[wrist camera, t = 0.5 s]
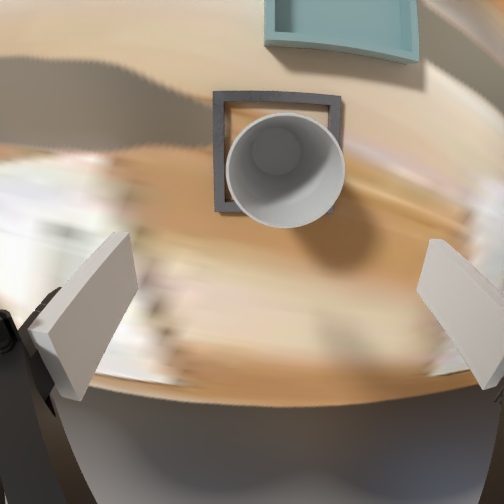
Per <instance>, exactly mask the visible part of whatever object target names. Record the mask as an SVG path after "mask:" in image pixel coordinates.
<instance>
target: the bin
mask: <svg viewBox="0 0 504 504" xmlns="http://www.w3.org/2000/svg"><path fill="white" fill-rule="evenodd" d="M264 46H279V47H296V48H309V49H319V50H328V51H336V52H343V53H350V54H357V55H363V56H368V57H374V58H379V59H384V60H389V61H393V62H398V63H402V64H411V63H416V62H419V29H418V14H417V1H416V0H264Z"/></svg>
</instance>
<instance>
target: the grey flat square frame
mask: <svg viewBox="0 0 504 504" xmlns="http://www.w3.org/2000/svg"><path fill="white" fill-rule="evenodd" d="M224 101H269V102H294V103H309V104H322V105H329V109H328V130H329V131H330V132H331V134H332V135H333V136H334V137H335V139H336V140H337V142H338V144H339V131H340V111H341V96H335V95H325V94H314V93H300V92H281V91H213V164H214V203H215V212H243V211H242V210H241V209H240V208H239V206H238V205H237V204H236V202H235V201H234V200H225V152H224ZM333 208H334V204H333V206H332V207H331V208H330V209H329V210H328V211H327V212H326V213H325V214H333Z"/></svg>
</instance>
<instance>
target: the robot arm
mask: <svg viewBox="0 0 504 504" xmlns="http://www.w3.org/2000/svg"><path fill="white" fill-rule="evenodd" d="M138 289H139V288H138V283H137V277H136V272H135V266H134V260H133V253H132V247H131V240H130V233H129V232H113V233H112V234H111V235H110V236H109V237H108V238H107V239H106V240H105V241H104V242H103V243H102V244H101V245H100V246H99V248H98V249H97V250H96V251H95V252H94V253H93V254H92V255H91V256H90V257H89V258H88V259H87V260H86V261H85V262H84V263H83V264H82V266H81V267H80V268H79V269H78V270H77V271H76V272H75V273H74V274H73V275H72V277H71V278H70V279H69V280H68V281H67V282H66V283H65V284H64V286H63V287H59V288H57V289H55V290H54V291H52V292H51V293H49V294H48V295H47V296H46V297H45V299H44V300H43V301H42V302H41V304H39V306H38V307H37V308H36V309H35V311H33V313H32V314H31V315H30V316H29V317H28V319H27V320H26V321H25V322H24V324H23V325H22V326H21V327H20V328H19V330H18V331H17V328H16V326H15V324H14V322H13V319H12V317H11V314H10V312H8V311H7V310H0V504H5V495H6V498H7V502H8V504H97V502H96V500H95V498H94V496H93V495H92V492H91V491H90V489H89V486H88V485H87V482H86V481H85V478H84V476H83V474H82V472H81V470H80V467H79V465H78V463H77V461H76V458H75V456H74V454H73V451H72V449H71V446H70V444H69V441H68V439H67V436H66V434H65V431H64V428H63V425H62V423H61V420H60V417H59V414H58V411H57V408H56V405H55V401H54V399H53V397H52V396H51V394H50V392H51V390H52V388H53V386H54V385H55V386H56V388H57V390H58V391H59V393H60V394H61V396H62V397H65V398H69V399H73V400H77V401H81V400H82V398H83V396H84V394H85V391H86V389H87V387H88V385H89V383H90V381H91V379H92V377H93V375H94V373H95V371H96V369H97V366H98V364H99V362H100V360H101V358H102V356H103V354H104V352H105V350H106V348H107V346H108V344H109V343H110V341H111V339H112V337H113V335H114V333H115V331H116V329H117V327H118V325H119V323H120V321H121V320H122V318H123V316H124V314H125V312H126V310H127V308H128V307H129V305H130V303H131V301H132V299H133V298H134V296H135V294H136V292H137V290H138ZM416 292H417V293H418V294H419V296H420V297H421V298H422V300H423V301H424V302H425V304H426V305H427V307H428V308H429V309H430V311H431V312H432V313H433V315H434V316H435V318H436V319H437V320H438V322H439V323H440V325H441V326H442V328H443V329H444V331H445V332H446V333H447V335H448V336H449V338H450V339H451V341H452V342H453V344H454V345H455V347H456V348H457V350H458V351H459V353H460V354H461V356H462V358H463V359H464V361H465V362H466V364H467V365H468V367H469V369H470V370H471V372H472V373H473V375H474V377H475V378H476V380H477V382H478V383H479V385H480V387H481V388H482V390H485V389H488V388H491V387H494V386H497V384H498V382H499V381H500V379H501V378H502V376H503V375H504V295H503V294H502V293H501V292H500V291H499V290H498V289H497V288H496V287H495V286H494V285H493V284H492V283H491V282H490V281H489V280H487V279H486V278H485V277H484V276H483V275H482V274H481V273H480V272H479V271H478V270H477V269H476V268H475V267H474V266H473V265H471V264H470V263H469V262H468V261H467V260H466V259H465V258H464V257H463V256H461V255H460V254H459V253H458V252H457V251H456V250H455V249H453V248H452V247H451V246H450V245H449V244H448V243H446V242H445V241H444V240H443V239H430V241H429V245H428V249H427V253H426V257H425V261H424V265H423V268H422V272H421V276H420V279H419V283H418V286H417V289H416ZM500 397H502V400H501V401H500V403H499V404H501V412H500V418H499V424H498V430H497V436H496V440H495V445H494V450H493V454H492V458H491V463H490V467H489V471H488V475H487V478H486V481H485V485H484V488H483V491H482V494H481V497H480V500H479V503H478V504H504V386H503V387H502V389H501V390H500V392H499V393H498V395H497V396H496V397H495V400H494V402H497V400H498V398H500ZM4 492H5V494H4Z"/></svg>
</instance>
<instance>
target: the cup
mask: <svg viewBox="0 0 504 504" xmlns="http://www.w3.org/2000/svg"><path fill="white" fill-rule="evenodd" d="M344 177H345V163H344V157H343V154H342V151H341V148H340V146H339V144H338V142H337V140H336V139H335V137H334V136H333V135H332V134H331V132H330V131H329V130H328V129H327V128H326V127H324V126H323V125H322V124H321V123H319V122H318V121H316V120H314V119H312V118H310V117H307V116H305V115H301V114H297V113H275V114H270V115H267V116H264V117H261V118H259V119H257V120H255V121H254V122H252V123H251V124H249V125H248V126H247V127H246V128H244V129H243V130H242V131H241V133H240V134H239V135H238V136H237V138H236V139H235V140H234V142H233V144H232V146H231V148H230V151H229V153H228V157H227V162H226V180H227V185H228V188H229V191H230V193H231V195H232V197H233V199H234V201H235V202H236V204H237V205H238V206H239V208H240V209H241V210H242V211H243V212H244V213H245V214H247V215H248V216H249V217H251V218H252V219H254V220H255V221H257V222H259V223H262V224H264V225H267V226H271V227H276V228H294V227H299V226H303V225H306V224H309V223H311V222H313V221H315V220H317V219H318V218H320V217H321V216H322V215H324V214H325V213H326V212H327V211H328V210H329V209H330V208H331V207H332V206H333V204H334V203H335V201H336V200H337V198H338V196H339V194H340V192H341V190H342V187H343V183H344Z"/></svg>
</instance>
